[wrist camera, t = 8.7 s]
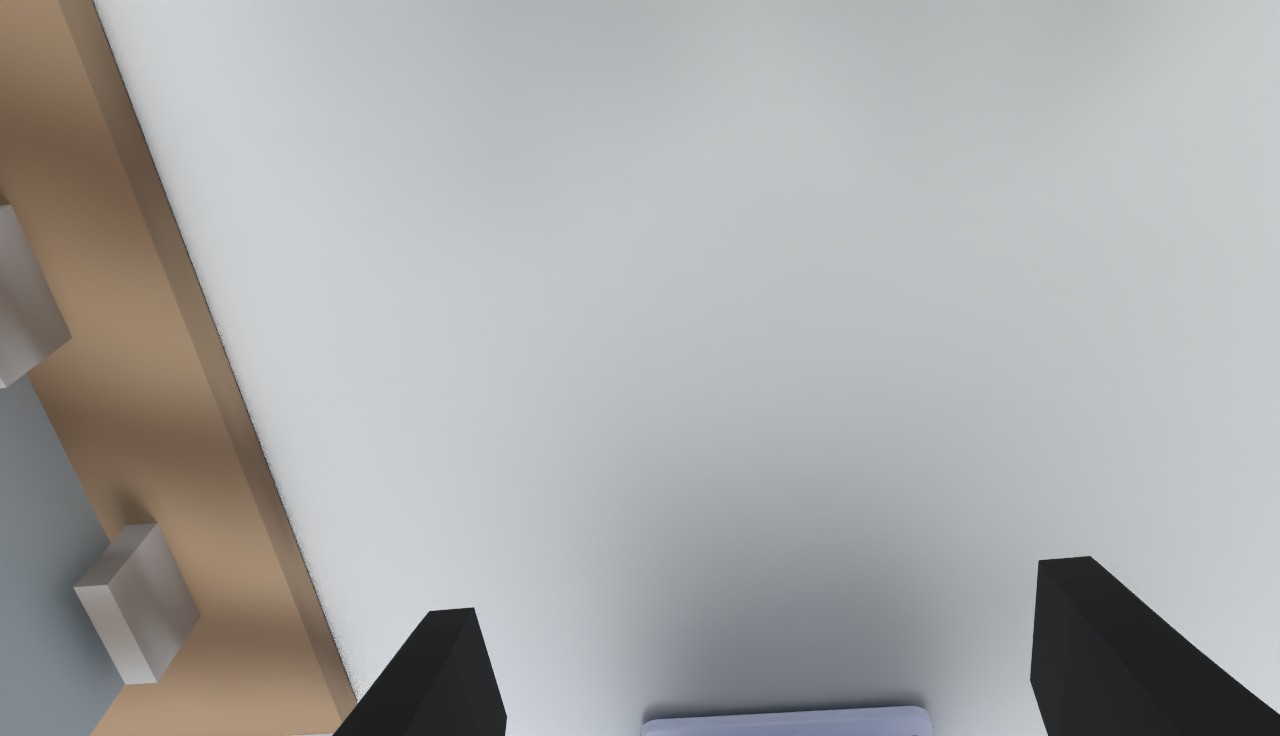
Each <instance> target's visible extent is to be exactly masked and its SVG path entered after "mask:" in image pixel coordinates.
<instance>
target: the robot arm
mask: <svg viewBox="0 0 1280 736" xmlns="http://www.w3.org/2000/svg"><path fill="white" fill-rule="evenodd" d="M1030 681H1031V684H1032V687H1033V691H1034V694H1035V697H1036V700H1037V703H1038V706H1039V709H1040V712H1041V716H1042V719H1043V722H1044V725H1045V728H1046V731H1047V734H1048V736H1280V715H1279V714H1278V713H1277V712H1276V711H1274V710H1273V709H1272V708H1270V707H1269V706H1268V705H1267V704H1265V703H1264V702H1263V701H1261V700H1260V699H1259V698H1258V697H1256V696H1255V695H1254V694H1252V693H1251V692H1250V691H1249V690H1248V689H1246V688H1245V687H1244V686H1243V685H1241V684H1240V683H1239V682H1238V681H1236V680H1235V679H1234V678H1233V677H1231V676H1230V675H1229V674H1228V673H1227V672H1225V671H1224V670H1223V669H1222V668H1220V667H1219V666H1218V665H1217V664H1215V663H1214V662H1213V661H1212V660H1211V659H1209V658H1208V657H1207V656H1206V655H1204V654H1203V653H1202V652H1201V651H1200V650H1198V649H1197V648H1196V647H1195V646H1194V645H1192V644H1191V643H1190V642H1189V641H1188V640H1187V639H1185V638H1184V637H1183V636H1182V635H1181V634H1179V633H1178V632H1177V631H1176V630H1175V629H1174V628H1172V627H1171V626H1170V625H1169V624H1168V623H1167V622H1166V621H1164V620H1163V619H1162V618H1161V617H1160V616H1159V615H1157V614H1156V613H1155V612H1154V611H1153V610H1152V609H1150V608H1149V607H1148V606H1147V605H1146V604H1145V603H1144V602H1142V601H1141V600H1140V599H1139V598H1138V597H1137V596H1136V595H1135V594H1133V593H1132V592H1131V591H1130V590H1129V589H1128V588H1127V587H1125V586H1124V585H1123V584H1122V583H1121V582H1120V581H1119V580H1117V579H1116V578H1115V577H1114V576H1113V575H1112V574H1111V573H1109V572H1108V571H1107V570H1106V569H1105V568H1104V567H1102V566H1101V565H1100V564H1099V563H1098V562H1097V561H1095V560H1094V559H1093V558H1092V557H1091V556H1086V557H1074V558H1062V559H1050V560H1039V563H1038V577H1037V591H1036V605H1035V619H1034V633H1033V647H1032V660H1031V674H1030ZM506 721H507V715H506V712H505V708H504V705H503V702H502V699H501V695H500V692H499V689H498V685H497V682H496V679H495V675H494V672H493V669H492V666H491V662H490V659H489V656H488V652H487V649H486V646H485V642H484V639H483V636H482V632H481V629H480V626H479V623H478V619H477V616H476V613H475V609H474V607H473V608H461V609H449V610H437V611H429V612H428V614H427V615H426V616H425V617H424V618H423V620H422V621H421V622H420V623H419V625H418V626H417V627H416V629H415V630H414V631H413V632H412V634H411V635H410V636H409V638H408V639H407V640H406V642H405V643H404V644H403V645H402V647H401V648H400V649H399V651H398V652H397V653H396V655H395V656H394V657H393V659H392V660H391V661H390V663H389V664H388V665H387V667H386V668H385V669H384V670H383V672H382V673H381V674H380V676H379V677H378V678H377V680H376V681H375V682H374V683H373V685H372V686H371V687H370V689H369V690H368V691H367V693H366V694H365V695H364V696H363V698H362V699H361V700H360V701H359V703H358V704H357V705H356V706H355V708H354V709H353V710H352V711H351V713H350V714H349V715H348V716H347V718H346V719H345V720H344V721H343V723H342V724H341V725H340V726H339V728H338V729H337V730H336V731H335V733H334V734H333V735H332V736H505V731H506ZM911 735H915V736H932V724H931V721H930V717H929V714H928V712H927V711H926V710H925V709H923V708H921V707H918V706H896V707H878V708H859V709H840V710H822V711H803V712H784V713H766V714H747V715H728V716H710V717H691V718H672V719H656V720H651V721H649V722H647V723H645V724H644V725H643V726H642V728H641V736H911Z"/></svg>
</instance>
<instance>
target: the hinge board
mask: <svg viewBox="0 0 1280 736" xmlns="http://www.w3.org/2000/svg"><path fill="white" fill-rule="evenodd" d="M25 373H26V374H27V376H28V378H29V380H30V382H31V384H32V386H33V388H34V390H35V392H36V394H37V396H38V398H39V400H40V402H41V404H42V406H43V408H44V410H45V412H46V414H47V416H48V418H49V420H50V422H51V424H52V426H53V428H54V430H55V432H56V434H57V436H58V438H59V440H60V442H61V444H62V446H63V448H64V450H65V452H66V454H67V456H68V458H69V460H70V462H71V464H72V466H73V468H74V470H75V472H76V474H77V476H78V478H79V480H80V482H81V484H82V486H83V488H84V490H85V492H86V494H87V496H88V499H89V501H90V503H91V505H92V507H93V509H94V511H95V513H96V515H97V517H98V519H99V521H100V523H101V525H102V527H103V529H104V531H105V533H106V535H107V537H108V539H109V541H110V543H111V544H110V545H109V546H108V547H107V549H106V550H105V551H104V552H103V553H102V554H101V556H100V557H99V558H98V559H97V560H96V561H95V563H94V564H93V565H92V566H91V567H90V568H89V570H88V571H87V572H86V573H85V574H84V575H83V577H82V578H81V579H80V580H79V581H78V582H77V584H76V585H75V586H74V587H73V588H74V590H75V591H76V593H77V595H78V597H79V599H80V601H81V603H82V605H83V606H84V608H85V610H86V612H87V614H88V616H89V618H90V619H91V621H92V623H93V625H94V627H95V629H96V631H97V633H98V634H99V636H100V638H101V640H102V642H103V644H104V646H105V647H106V649H107V651H108V653H109V655H110V657H111V659H112V660H113V662H114V664H115V666H116V668H117V670H118V672H119V674H120V675H121V677H122V679H123V681H124V683H125V685H124V687H123V688H122V690H121V691H120V693H119V694H118V695H117V697H116V698H115V700H114V701H113V703H112V704H111V706H110V707H109V709H108V710H107V711H106V713H105V714H104V716H103V717H102V719H101V720H100V722H99V723H98V724H97V726H96V727H95V729H94V730H93V732H92V733H91V735H90V736H291V735H310V734H329V733H335V731H336V730H337V729H338V728H339V726H340V725H341V724H342V723H343V721H344V720H345V719H346V718H347V716H348V715H349V714H350V713H351V711H352V710H353V709H354V708H355V706H356V705H357V702H356V699H355V696H354V694H353V691H352V688H351V686H350V683H349V680H348V678H347V675H346V672H345V670H344V667H343V664H342V662H341V659H340V657H339V654H338V651H337V649H336V646H335V643H334V641H333V638H332V635H331V633H330V630H329V627H328V625H327V622H326V619H325V617H324V614H323V611H322V609H321V606H320V604H319V601H318V598H317V596H316V593H315V590H314V588H313V585H312V582H311V580H310V577H309V574H308V572H307V569H306V566H305V564H304V561H303V558H302V556H301V553H300V551H299V548H298V545H297V543H296V540H295V537H294V535H293V532H292V529H291V527H290V524H289V521H288V519H287V516H286V513H285V511H284V508H283V506H282V503H281V500H280V498H279V495H278V492H277V490H276V487H275V484H274V482H273V479H272V476H271V474H270V471H269V468H268V466H267V463H266V460H265V458H264V455H263V453H262V450H261V447H260V445H259V442H258V439H257V437H256V434H255V431H254V429H253V426H252V423H251V421H250V418H249V415H248V413H247V410H246V407H245V405H244V402H243V400H242V397H241V394H240V392H239V389H238V386H237V384H236V381H235V378H234V376H233V373H232V370H231V368H230V365H229V362H228V360H227V357H226V355H225V352H224V349H223V347H222V344H221V341H220V339H219V336H218V333H217V331H216V328H215V325H214V323H213V320H212V317H211V315H210V312H209V309H208V307H207V304H206V302H205V299H204V296H203V294H202V291H201V288H200V286H199V283H198V280H197V278H196V275H195V272H194V270H193V267H192V264H191V262H190V259H189V256H188V254H187V251H186V249H185V246H184V243H183V241H182V238H181V235H180V233H179V230H178V227H177V225H176V222H175V219H174V217H173V214H172V211H171V209H170V206H169V204H168V201H167V198H166V196H165V193H164V190H163V188H162V185H161V182H160V180H159V177H158V174H157V172H156V169H155V166H154V164H153V161H152V158H151V156H150V153H149V151H148V148H147V145H146V143H145V140H144V137H143V135H142V132H141V129H140V127H139V124H138V121H137V119H136V116H135V113H134V111H133V108H132V105H131V103H130V100H129V98H128V95H127V92H126V90H125V87H124V84H123V82H122V79H121V76H120V74H119V71H118V68H117V66H116V63H115V60H114V58H113V55H112V52H111V50H110V47H109V45H108V42H107V39H106V37H105V34H104V31H103V29H102V26H101V23H100V21H99V18H98V15H97V13H96V10H95V7H94V5H93V2H92V0H0V388H7V387H8V386H9V385H11V384H12V383H13V382H15V381H16V380H17V379H19V378H20V377H21V376H23V375H24V374H25Z"/></svg>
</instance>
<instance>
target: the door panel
mask: <svg viewBox="0 0 1280 736" xmlns="http://www.w3.org/2000/svg"><path fill="white" fill-rule="evenodd" d="M110 544H111V543H110V541H109V539H108V537H107V535H106V533H105V531H104V529H103V527H102V525H101V523H100V521H99V519H98V517H97V515H96V513H95V511H94V509H93V507H92V505H91V503H90V501H89V499H88V496H87V494H86V492H85V490H84V488H83V486H82V484H81V482H80V480H79V478H78V476H77V474H76V472H75V470H74V468H73V466H72V464H71V462H70V460H69V458H68V456H67V454H66V452H65V450H64V448H63V446H62V444H61V442H60V440H59V438H58V436H57V434H56V432H55V430H54V428H53V426H52V424H51V422H50V420H49V418H48V416H47V414H46V412H45V410H44V408H43V406H42V404H41V402H40V400H39V398H38V396H37V394H36V392H35V390H34V388H33V386H32V384H31V382H30V380H29V378H28V376H27V374H26V373H25V374H24V375H23V376H21V377H20V378H19V379H17V380H16V381H15V382H13V383H12V384H11V385H9V386H8V387H7V388H0V736H90V735H91V733H92V732H93V730H94V729H95V727H96V726H97V724H98V723H99V722H100V720H101V719H102V717H103V716H104V714H105V713H106V711H107V710H108V709H109V707H110V706H111V704H112V703H113V701H114V700H115V698H116V697H117V695H118V694H119V693H120V691H121V690H122V688H123V687H124V685H125V683H124V681H123V679H122V677H121V675H120V674H119V672H118V670H117V668H116V666H115V664H114V662H113V660H112V659H111V657H110V655H109V653H108V651H107V649H106V647H105V646H104V644H103V642H102V640H101V638H100V636H99V634H98V633H97V631H96V629H95V627H94V625H93V623H92V621H91V619H90V618H89V616H88V614H87V612H86V610H85V608H84V606H83V605H82V603H81V601H80V599H79V597H78V595H77V593H76V591H75V590H74V588H73V587H74V586H75V585H76V584H77V582H78V581H79V580H80V579H81V578H82V577H83V575H84V574H85V573H86V572H87V571H88V570H89V568H90V567H91V566H92V565H93V564H94V563H95V561H96V560H97V559H98V558H99V557H100V556H101V554H102V553H103V552H104V551H105V550H106V549H107V547H108V546H109V545H110Z"/></svg>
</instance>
